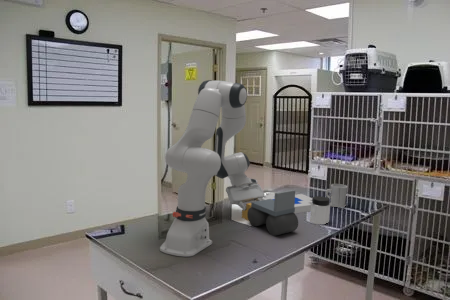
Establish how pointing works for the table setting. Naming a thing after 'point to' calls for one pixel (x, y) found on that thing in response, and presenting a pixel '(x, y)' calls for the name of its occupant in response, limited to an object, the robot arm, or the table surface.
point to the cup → (337, 195)
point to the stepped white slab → (300, 204)
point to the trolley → (275, 213)
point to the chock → (244, 213)
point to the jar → (320, 210)
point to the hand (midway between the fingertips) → (252, 208)
